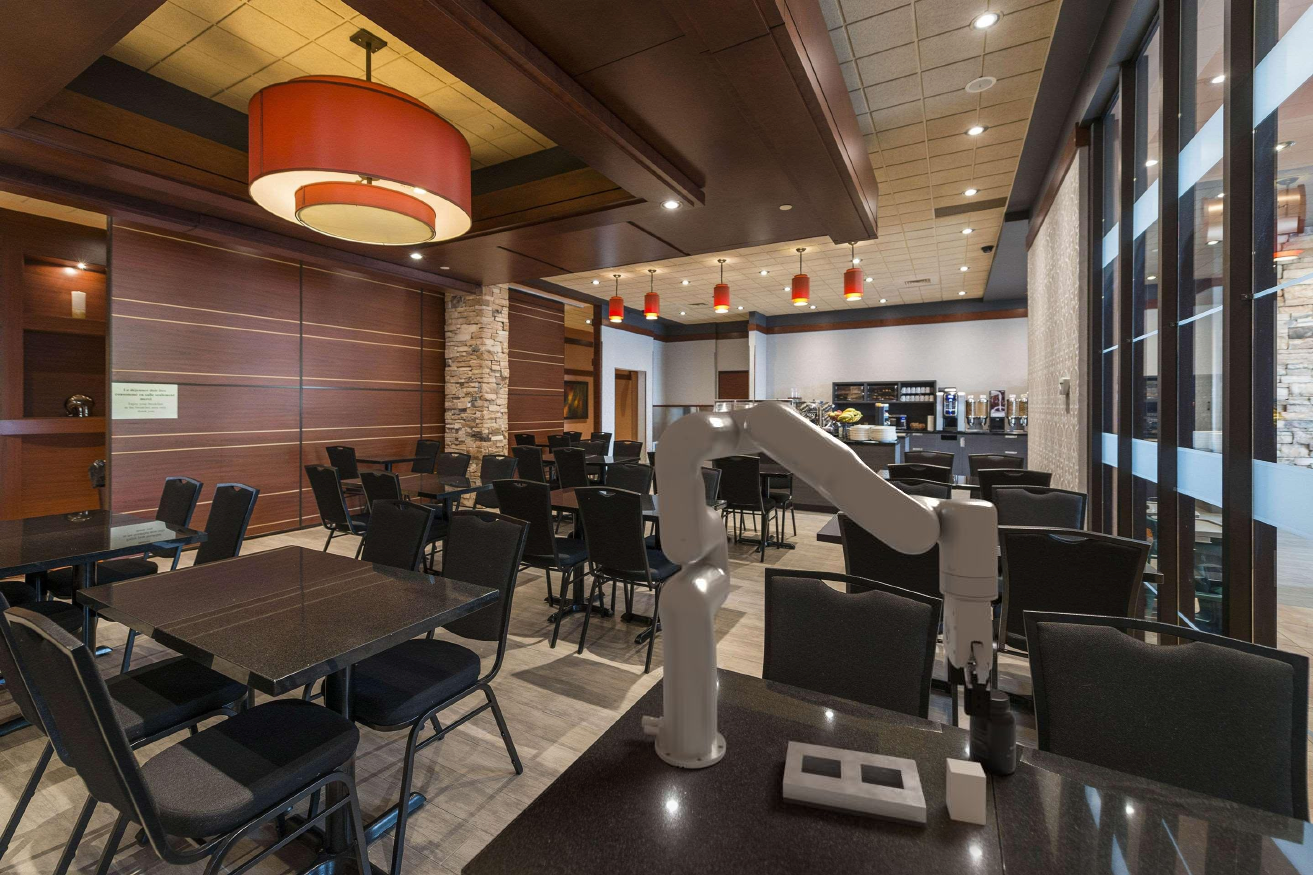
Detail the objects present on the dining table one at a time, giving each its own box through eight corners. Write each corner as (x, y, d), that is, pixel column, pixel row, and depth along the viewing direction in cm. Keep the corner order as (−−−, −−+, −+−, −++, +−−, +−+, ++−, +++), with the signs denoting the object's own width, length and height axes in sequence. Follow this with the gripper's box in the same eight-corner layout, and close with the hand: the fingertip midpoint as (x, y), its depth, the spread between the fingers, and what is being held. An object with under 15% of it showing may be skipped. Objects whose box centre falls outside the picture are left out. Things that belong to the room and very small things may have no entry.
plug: (950, 818, 84) (951, 771, 84) (946, 803, 87) (946, 757, 87) (985, 825, 82) (986, 777, 82) (979, 808, 86) (979, 762, 86)
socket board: (783, 801, 88) (783, 782, 88) (788, 757, 99) (788, 740, 99) (926, 828, 82) (926, 807, 82) (914, 778, 93) (914, 759, 93)
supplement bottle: (1023, 778, 93) (1023, 705, 93) (977, 773, 94) (977, 701, 94) (1006, 754, 100) (1006, 686, 100) (963, 750, 101) (964, 682, 101)
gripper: (930, 568, 94) (931, 672, 94) (951, 599, 77) (952, 725, 77) (981, 570, 91) (982, 677, 92) (1015, 603, 75) (1016, 733, 75)
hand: (969, 699), depth 85 cm, fingers open, 9 cm apart
